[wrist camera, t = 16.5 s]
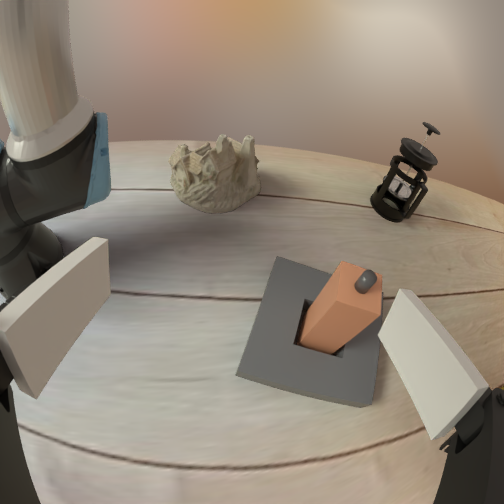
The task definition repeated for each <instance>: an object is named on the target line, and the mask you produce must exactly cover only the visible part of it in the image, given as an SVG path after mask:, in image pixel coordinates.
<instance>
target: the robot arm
mask: <svg viewBox="0 0 504 504" xmlns="http://www.w3.org/2000/svg"><path fill="white" fill-rule="evenodd" d="M0 101H1V104H2V107H3V109H4V112H5V115H6V118H7V120H8V123H9V126H10V128H11V132H10V135H9V138H8V140H7V144H6V147H4V142H3V141H1V139H0V293H1V294H2V295H3V296H4V297H5V298H6V299H7V300H6V302H5V303H3V304H2V305H1V306H0V504H41V503H40V501H39V498H38V496H37V493H36V491H35V488H34V485H33V482H32V479H31V476H30V473H29V470H28V467H27V463H26V460H25V456H24V452H23V448H22V444H21V440H20V435H19V430H18V425H17V419H16V413H15V406H14V399H13V391H12V388H11V386H10V383H11V381H12V380H13V378H14V380H15V382H16V383H17V385H18V387H19V389H20V390H21V391H23V392H24V393H26V394H28V395H30V396H31V397H33V398H35V399H37V398H38V396H39V395H40V393H41V392H42V390H43V388H44V387H45V385H46V384H47V382H48V381H49V379H50V377H51V376H52V374H53V373H54V371H55V370H56V368H57V367H58V365H59V364H60V362H61V361H62V360H63V358H64V357H65V355H66V354H67V352H68V351H69V349H70V348H71V347H72V345H73V344H74V342H75V341H76V340H77V338H78V337H79V336H80V334H81V333H82V331H83V330H84V329H85V327H86V326H87V325H88V323H89V322H90V321H91V319H92V318H93V317H94V316H95V314H96V313H97V312H98V310H99V309H100V308H101V306H102V305H103V304H104V303H105V301H106V300H107V299H108V298H109V296H110V295H111V290H110V275H109V250H108V239H104V238H99V237H92V238H91V239H90V240H88V241H87V242H85V243H84V244H83V245H81V246H80V247H78V248H77V249H76V250H74V251H73V252H72V253H70V254H69V255H68V256H66V257H65V258H64V259H63V251H62V247H61V244H60V242H59V241H58V239H57V237H56V235H55V234H54V233H53V232H52V231H51V230H50V229H48V228H47V227H46V226H45V225H44V224H43V223H41V222H42V221H45V220H48V219H51V218H54V217H57V216H60V215H63V214H66V213H70V212H73V211H76V210H80V209H85V208H87V207H88V206H90V205H92V204H95V203H97V202H100V201H103V200H104V199H106V198H107V197H108V196H109V194H110V191H111V176H110V163H109V147H108V121H107V114H106V113H98V112H97V113H96V114H94V108H93V105H92V103H91V101H90V100H89V99H87V98H85V97H83V96H80V95H78V93H77V88H76V82H75V75H74V68H73V61H72V53H71V43H70V31H69V10H68V0H0ZM378 337H379V338H380V340H381V342H382V344H383V345H384V347H385V349H386V351H387V353H388V354H389V356H390V358H391V360H392V362H393V364H394V366H395V367H396V369H397V371H398V373H399V375H400V377H401V379H402V381H403V383H404V385H405V387H406V388H407V390H408V392H409V394H410V396H411V398H412V400H413V402H414V405H415V407H416V409H417V411H418V413H419V415H420V417H421V419H422V421H423V423H424V426H425V428H426V430H427V432H428V434H429V436H430V439H431V440H434V439H437V438H440V437H443V436H445V435H446V434H447V433H448V432H449V431H450V430H451V429H452V428H453V427H454V426H455V428H456V430H457V431H456V432H455V433H454V434H453V435H452V436H451V437H450V438H449V439H448V440H447V441H446V442H444V443H443V444H442V445H441V447H440V449H439V450H442V449H443V448H444V447H445V446H446V445H450V446H449V447H447V448H446V449H445V450H444V452H447V453H448V455H447V459H446V463H445V467H444V471H443V475H442V478H441V482H440V485H439V488H438V491H437V494H436V497H435V500H434V503H433V504H504V390H502V389H500V388H495V389H494V390H493V391H492V390H491V389H490V388H489V385H488V383H487V382H486V381H485V379H484V378H483V376H482V375H481V374H480V372H479V371H478V370H477V368H476V367H475V366H474V364H473V363H472V362H471V360H470V359H469V358H468V356H467V355H466V354H465V352H464V351H463V350H462V349H461V347H460V346H459V345H458V344H457V342H456V341H455V340H454V339H453V337H452V336H451V335H450V334H449V332H448V331H447V330H446V329H445V328H444V326H443V325H442V324H441V323H440V322H439V321H438V319H437V318H436V317H435V316H434V315H433V314H432V312H431V311H430V310H429V309H428V308H427V307H426V306H425V305H424V303H423V302H422V301H421V300H420V299H419V298H418V297H417V296H416V295H415V293H414V292H413V291H412V290H408V289H401V288H399V291H398V293H397V295H396V298H395V300H394V302H393V304H392V307H391V309H390V311H389V313H388V315H387V317H386V319H385V321H384V323H383V326H382V328H381V330H380V332H379V334H378Z"/></svg>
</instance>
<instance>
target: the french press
mask: <svg viewBox="0 0 504 504" xmlns="http://www.w3.org/2000/svg"><path fill="white" fill-rule="evenodd" d="M423 125H424V126H425V127H427V128H428V131H427V136H426V138H425V140H424V142H423V144H422V145H421V144H420V143H418V142H416V141H414V140H412V139H409V138H402V140H401V143H402V145H401V147H400V152H401V154H402V155H403V156H404V157H402V156H398V155H397V156H393V158H392V160H391V162H390V165H391V168H390V170H389V172H388V174H387V175H386V176H384V178H383V183H382V184H381V185H379V186H378V187H377V189H376V190H375V192H374V194H372V196H371V198H370V202H371V205H372V207H373V208H374V210H375V211H376V212H377V213H378V214H379V215H381V216H382V217H383V218H385V219H387V220H389V221H392V222H400V221H402V220H403V219H404V218H410V217H411V215H412V214H413V212H414V211H415V209H416V208H417V206H418V205H419V203H420V202H421V200H422V199H423V197H424V196H425V194H426V193H427V191H428V189H427V187H426V186H425V183H426V182H427V176H426V174H425V172H424V171H423V170H426V171H430V170H431V169H432V168H433V166H434V165H437V163H438V161H437V159H436V157H435V156H434V155H433V154H432V153H431V152H430V151H429V150H428V149H427V148H425V147H424V144H425V142H426V140H427V138H428V136H430V135H431V133H432V132H434V133H436V134H438V135H440V132H439V131H438V130H437V129H436V128H435V127H434V126H432V125H430V124H428V123H426V122H423ZM400 161H401V162H404V163H406V164H408V165H409V166H410V168H409V170H408V172H407V174H405V173H403V172H402V171H401V170H400V169H399V168H398V165H399V163H400ZM411 168H414V169H415V170H416V171H417V172H418V173H417V175H416V177H415V178H414V179H412V178H411V177H409V176H407V175H408V173H409V172H410V170H411ZM422 169H423V170H422ZM396 174H397V175H398V176H399V177H400V178H402V179H403V180H401V179H400V178H398V177H395V175H396ZM422 178H423V181H424V182H420V181H421V179H422ZM404 181H406V182H408V183H409V184H411V185H410V186H409V185H408V184H407V183H406V182H404ZM420 188H421V189H422V190H421V192H420V193H419V195H418V196H417V198H416V199H415V201H414V203H413V204H412V206H411V207H410V204H411V202H412V201H413V200H414V198H415V196H416V194H417V193H418V191H419V190H420ZM383 197H386V198H388V199H390V200H392V201H393V202H394V203H395V204H396V205H397V206H398V208H399V210H396V209H394V208H392V207H391V206H389V205H388V204H386V203H385V202H384V201H383V200H382V198H383ZM409 207H410V209H409ZM407 211H408V212H407Z"/></svg>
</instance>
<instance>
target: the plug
mask: <svg viewBox="0 0 504 504" xmlns="http://www.w3.org/2000/svg"><path fill="white" fill-rule="evenodd" d="M381 299H382V275H381V274H378V273H375V272H373V271H372V270H367V269H364V268H361V267H358V266H356V265H353V264H350V263H347V262H344V261H341V263H340V264H339V266H338V267H337V269H336V270H335V272H334V273H333V275H332V276H331V278H330V279H329V281H328V282H327V284H326V285H325V286H324V288H323V289H322V291H321V292H320V294H319V295H318V296H317V298H316V299H315V301H314V302H313V304H312V305H311V306H310V308H309V309H308V310H307V312H306V313H305V315H304V316H303V320H302V324H301V328H300V332H299V336H298V340H297V344H296V345H298V346H301V347H304V348H308V349H311V350H315V351H318V352H322V353H325V354H329V355H331V354H332V353H334V352H335V351H336V350H338V349H339V348H340V347H342V346H343V345H344V344H346V343H347V342H348V341H350V340H351V339H352V338H353V337H355V336H356V335H357V334H358V333H360V332H361V331H362V330H363V329H365V328H366V327H367V326H368V325H369V324H371V323H372V322H373V321H374V320H375V319H376V318H378V317H379V316H380V315H381Z"/></svg>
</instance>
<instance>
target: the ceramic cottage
mask: <svg viewBox="0 0 504 504" xmlns="http://www.w3.org/2000/svg"><path fill="white" fill-rule="evenodd" d="M168 162H169V164H170V165H171V168H172V175H171V179H170V183H171V185H172V187H173V189H174V191H175V193H176V195H177V197H178V198H179V199H180V200H181V201H182V202H184V203H185V204H188V205H189V206H191V207H193V208H195V209H197V210H200V211H202V212H205V213H225V212H229V211H232V210H235V209H236V208H238V207H239V206H241V205H242V204H243V203H245V202H247V201H249V200H250V199H251V198H253V197H255V196H256V195H258V194H259V192H260V190H261V185H260V179H259V176H258V175H257V169H258V168H257V163H258V162H259V160H258V159H257V157H256V156H255V148H254V137H252V136H246V137H245V138H244V140H243V144H242V143H240V142H238V141H235V140H233V139H232V138H230V137H227V136H226V135H224V134H221V135H220V136H219V138H218V140H217V142H216V146H215V148H211V147H210V143H209V142H207V143H206V144H204V145H203V146H202V147H200V148H198V149H197V150H195V151H193V152H192V151H190V150H188V146H187V145H185V144H182V145H178V147H177V148H176V151H175V152H174V153H173V154H172V156H171V157H170V158H169V161H168Z"/></svg>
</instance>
